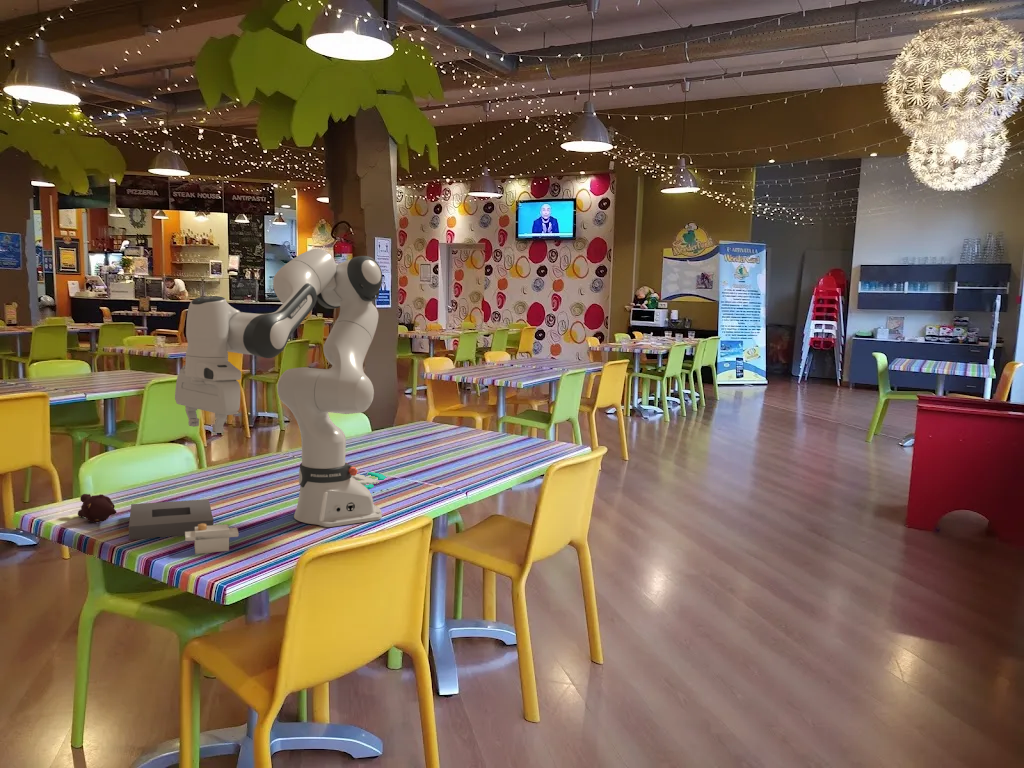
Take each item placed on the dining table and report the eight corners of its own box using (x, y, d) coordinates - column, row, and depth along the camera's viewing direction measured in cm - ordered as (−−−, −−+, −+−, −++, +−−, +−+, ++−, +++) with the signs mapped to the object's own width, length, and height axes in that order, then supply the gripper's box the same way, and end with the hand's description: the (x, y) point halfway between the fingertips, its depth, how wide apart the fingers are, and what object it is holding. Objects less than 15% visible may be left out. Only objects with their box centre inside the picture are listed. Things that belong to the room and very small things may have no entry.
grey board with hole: (208, 511, 194) (208, 499, 194) (213, 533, 178) (213, 520, 178) (131, 516, 186) (131, 504, 186) (128, 540, 170) (128, 526, 170)
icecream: (132, 498, 181) (98, 491, 189) (103, 496, 174) (68, 490, 182) (127, 527, 180) (92, 519, 188) (97, 526, 174) (63, 518, 181)
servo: (236, 544, 172) (237, 519, 171) (238, 550, 168) (238, 524, 168) (184, 548, 167) (184, 523, 166) (185, 555, 164) (185, 528, 163)
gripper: (168, 364, 170) (167, 423, 172) (220, 373, 158) (218, 437, 160) (193, 363, 175) (192, 421, 177) (246, 372, 163) (244, 434, 165)
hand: (205, 429), depth 168 cm, fingers open, 8 cm apart
